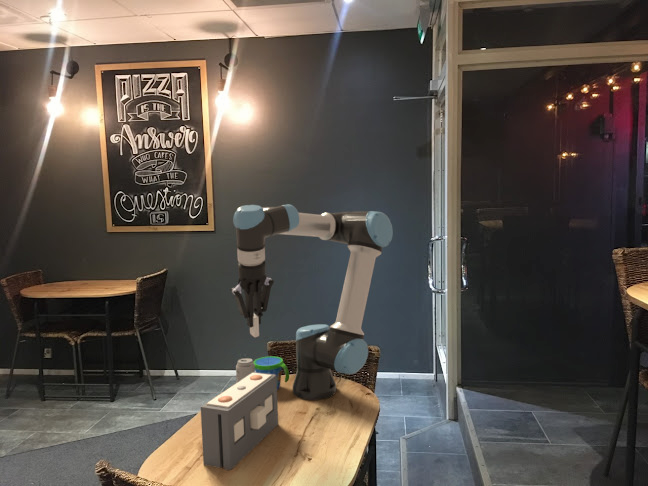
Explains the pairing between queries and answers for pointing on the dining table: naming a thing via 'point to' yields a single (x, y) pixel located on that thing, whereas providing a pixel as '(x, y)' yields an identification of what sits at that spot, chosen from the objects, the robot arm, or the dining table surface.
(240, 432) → the button edge side
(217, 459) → the console
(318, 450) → the dining table surface
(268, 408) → the button arm side
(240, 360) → the energy drink can
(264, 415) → the button middle
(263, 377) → the pattern card
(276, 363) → the snack cup
